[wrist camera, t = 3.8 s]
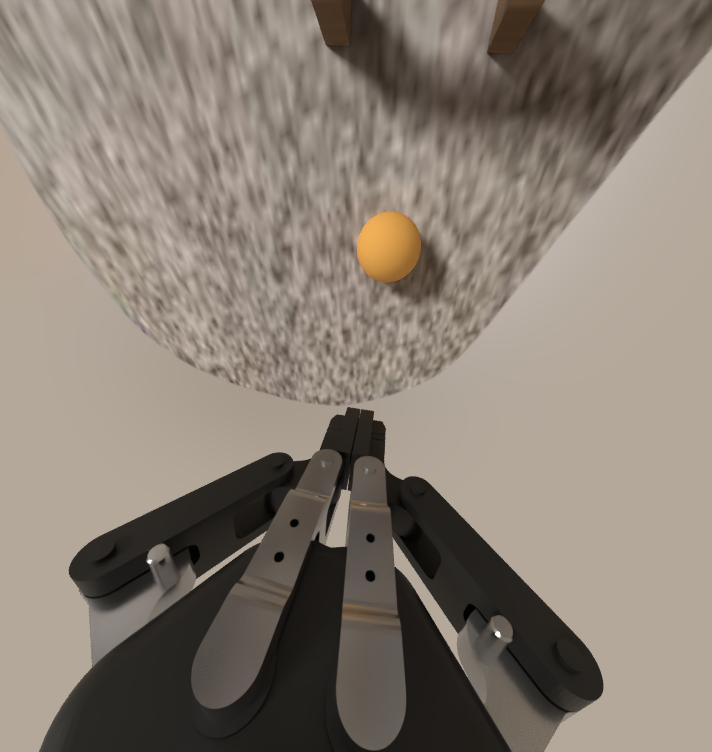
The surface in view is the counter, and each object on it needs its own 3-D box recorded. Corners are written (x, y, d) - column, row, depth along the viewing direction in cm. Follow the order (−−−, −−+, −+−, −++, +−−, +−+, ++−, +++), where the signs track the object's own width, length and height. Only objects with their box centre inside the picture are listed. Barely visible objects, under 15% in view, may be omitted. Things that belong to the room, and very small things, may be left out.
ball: (358, 276, 29) (349, 281, 23) (364, 213, 26) (356, 202, 20) (411, 282, 28) (416, 289, 23) (423, 219, 25) (431, 209, 20)
